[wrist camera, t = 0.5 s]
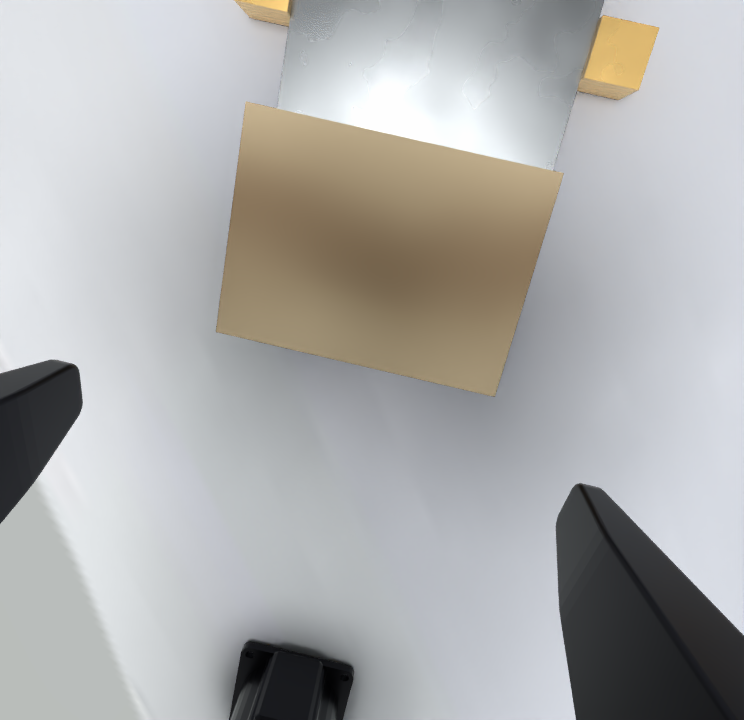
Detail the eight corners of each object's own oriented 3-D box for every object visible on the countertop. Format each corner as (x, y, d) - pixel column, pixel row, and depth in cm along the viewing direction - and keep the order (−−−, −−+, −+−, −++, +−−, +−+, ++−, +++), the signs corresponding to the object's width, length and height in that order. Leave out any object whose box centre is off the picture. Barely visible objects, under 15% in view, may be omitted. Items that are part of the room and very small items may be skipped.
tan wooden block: (468, 329, 22) (494, 397, 15) (284, 287, 22) (215, 331, 15) (509, 183, 21) (563, 173, 13) (309, 138, 21) (245, 101, 13)
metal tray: (527, 378, 24) (544, 407, 21) (213, 306, 25) (182, 322, 21) (722, -219, 18) (791, -315, 15) (291, -310, 18) (263, -424, 15)
